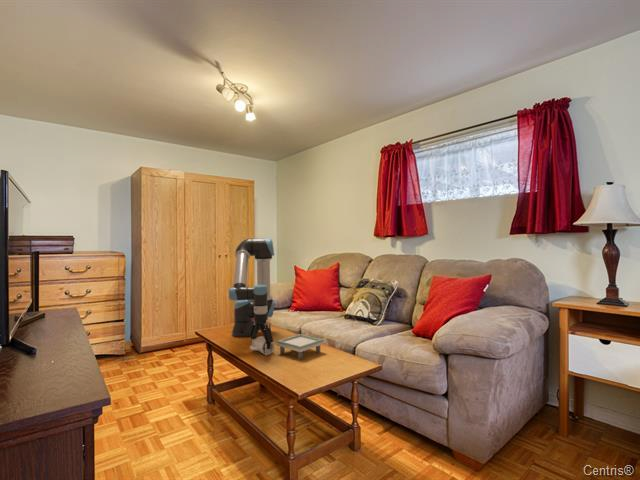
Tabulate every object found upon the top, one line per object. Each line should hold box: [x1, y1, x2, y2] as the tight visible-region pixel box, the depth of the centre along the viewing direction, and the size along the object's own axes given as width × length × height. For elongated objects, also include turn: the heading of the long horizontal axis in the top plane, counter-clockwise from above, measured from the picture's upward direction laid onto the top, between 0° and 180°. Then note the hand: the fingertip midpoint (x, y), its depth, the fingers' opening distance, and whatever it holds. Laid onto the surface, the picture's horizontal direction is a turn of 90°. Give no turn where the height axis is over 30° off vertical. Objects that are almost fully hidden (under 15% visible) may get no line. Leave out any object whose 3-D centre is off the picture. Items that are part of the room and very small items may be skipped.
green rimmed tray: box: [276, 333, 324, 361], centre depth 190 cm, size 18×18×7 cm
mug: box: [249, 335, 275, 355], centre depth 191 cm, size 12×10×8 cm
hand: (260, 352), depth 191 cm, fingers open, 11 cm apart
